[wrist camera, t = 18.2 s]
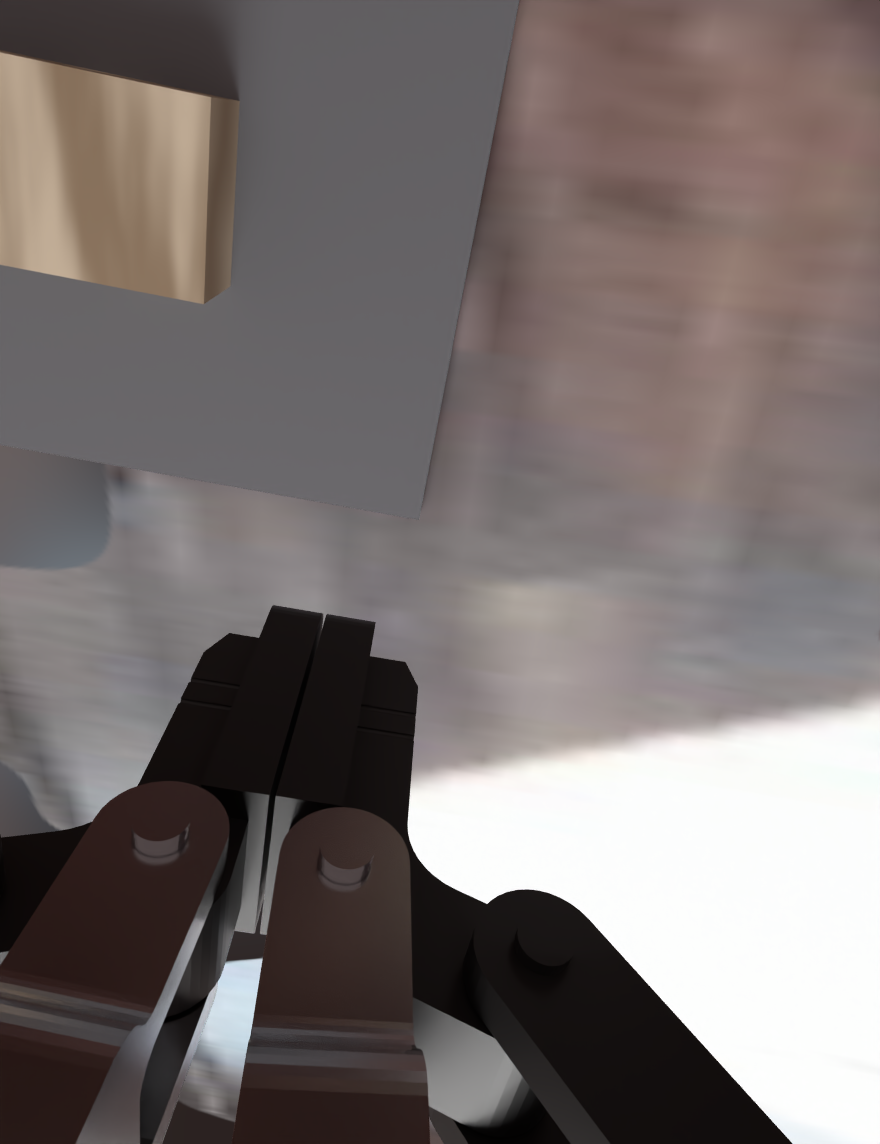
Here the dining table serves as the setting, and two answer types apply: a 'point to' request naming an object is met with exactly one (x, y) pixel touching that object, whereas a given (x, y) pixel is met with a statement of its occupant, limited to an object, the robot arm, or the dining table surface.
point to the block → (116, 179)
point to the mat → (276, 248)
